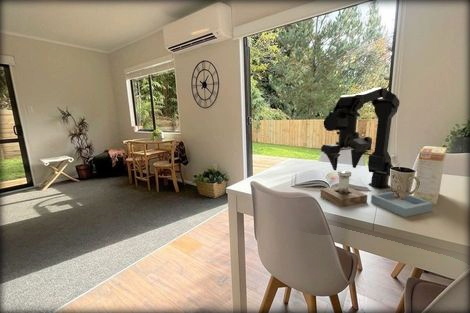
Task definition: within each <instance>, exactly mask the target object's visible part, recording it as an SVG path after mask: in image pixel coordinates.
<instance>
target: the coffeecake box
mask: <svg viewBox="0 0 470 313" xmlns="http://www.w3.org/2000/svg"><path fill="white" fill-rule="evenodd" d="M446 152H447V147H445V146H444V147H443V146H433V145H424V146H423V147H422V148H421V149H420V151H419V155H418V163H417V170H416V171H417V172H416V177H417V178H418V179H419V181H420V186H419V188H418V190H417V191H416V192H414V193H413V196H415V197H418V198H421V199H424V200H426V201H429V202H432V203H434V204H433V206H434V205H437V203H438V200H439V196H440V192H441V186H442V185H441V184H442V179H443V172H444V165H445V160H446V159H445V158H446ZM416 186H417V181H416V180H415V186H414V189H415V188H416Z"/></svg>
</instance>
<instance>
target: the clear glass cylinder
mask: <svg viewBox="0 0 470 313" xmlns="http://www.w3.org/2000/svg"><path fill="white" fill-rule="evenodd" d="M337 176H338V193H340V194H342V195H345V194H348V187H349V186H350V184H349V183H350V177H352V172H351V171H349V170H338V171H337ZM349 188H350V187H349Z"/></svg>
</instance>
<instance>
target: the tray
mask: <svg viewBox="0 0 470 313" xmlns="http://www.w3.org/2000/svg"><path fill="white" fill-rule="evenodd" d="M393 196H394V193H393V192H392V191H387V192H382V193H381V192H380V193H375V194H371V199H370V203H371V204H374V205H376V206H378V207H381V208H383V209H386V210H387V211H390V212H392V213H394V214H397V215H399V216H400V217H403V218H407V217H411V216H416V215H421V214H425V213H430V212H433V211H434V203H432V202H429V201H426V200H424V199H421V198H418V197H415V196H414V195H411V194H409V195H406V197H405V200H401V199H396V198H393Z"/></svg>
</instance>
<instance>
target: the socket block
mask: <svg viewBox="0 0 470 313" xmlns="http://www.w3.org/2000/svg"><path fill="white" fill-rule="evenodd" d="M338 186H339V185H338ZM338 186H331V187H330V186H329V187H326V188H320V195H321V196H320V197H322V196H323V197H322V198H324V199H325V198H326V200H327V199H328V201H329V202H331V203H333V204H335V205H337V206H338V207H340V208H344V207H349V206H354V205H359V204H365V203H368V194H366V193H364V192H360V191H359V190H357V189H354V188H351V187H348V194H345V195H342V194H340V193H338Z"/></svg>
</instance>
